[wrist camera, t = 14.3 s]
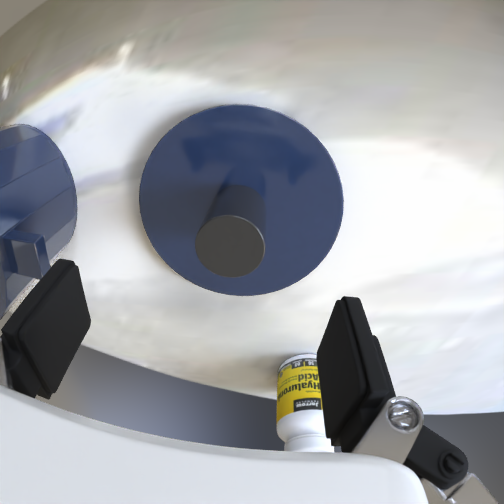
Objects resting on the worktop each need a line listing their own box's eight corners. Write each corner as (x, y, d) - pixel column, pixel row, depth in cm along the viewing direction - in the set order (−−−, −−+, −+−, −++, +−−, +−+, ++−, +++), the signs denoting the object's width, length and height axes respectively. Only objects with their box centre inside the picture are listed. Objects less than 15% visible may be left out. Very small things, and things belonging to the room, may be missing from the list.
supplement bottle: (319, 344, 27) (330, 438, 19) (339, 374, 30) (352, 459, 21) (266, 363, 29) (263, 454, 21) (291, 391, 31) (293, 473, 23)
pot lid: (148, 97, 18) (102, 105, 13) (358, 123, 18) (393, 139, 13) (147, 273, 25) (119, 324, 19) (316, 296, 25) (326, 353, 19)
